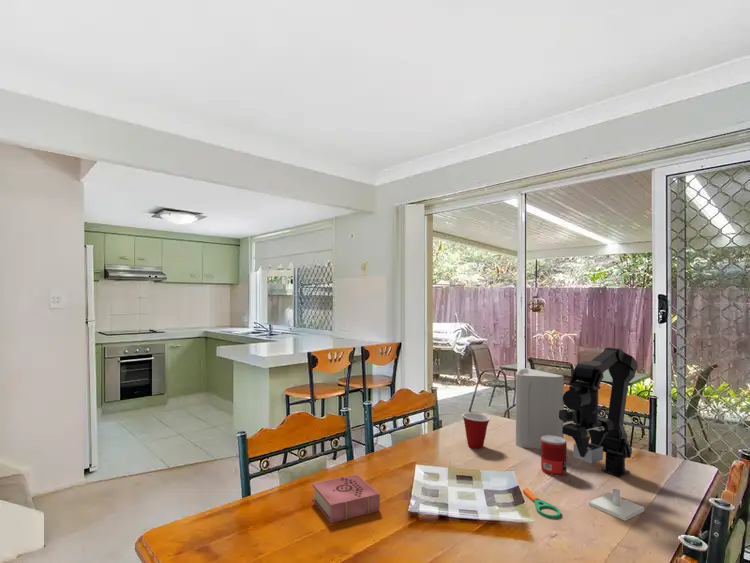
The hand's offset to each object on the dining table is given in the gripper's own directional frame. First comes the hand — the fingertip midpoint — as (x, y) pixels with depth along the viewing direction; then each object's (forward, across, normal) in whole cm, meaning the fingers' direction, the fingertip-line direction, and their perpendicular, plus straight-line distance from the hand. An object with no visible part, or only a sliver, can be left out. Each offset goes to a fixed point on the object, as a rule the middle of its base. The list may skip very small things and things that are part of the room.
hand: (588, 454), depth 136 cm
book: (+11, +70, -29) cm, 77 cm away
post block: (+10, +6, +12) cm, 17 cm away
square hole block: (+1, 0, 0) cm, 1 cm away
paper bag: (+10, -18, -35) cm, 41 cm away
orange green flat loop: (+11, +23, -1) cm, 25 cm away
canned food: (+10, -1, -13) cm, 17 cm away
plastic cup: (+10, +4, -44) cm, 45 cm away
